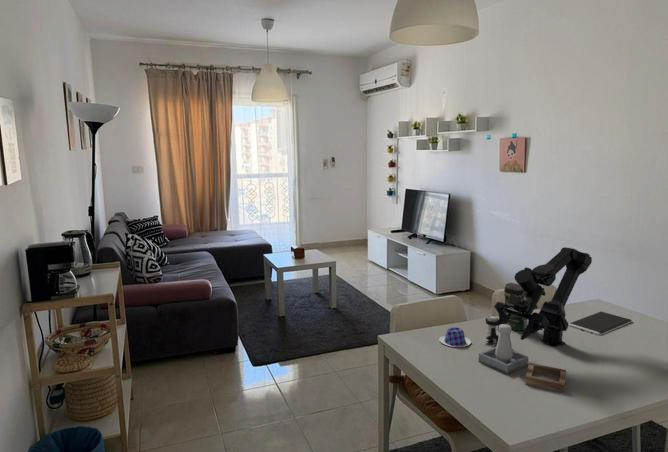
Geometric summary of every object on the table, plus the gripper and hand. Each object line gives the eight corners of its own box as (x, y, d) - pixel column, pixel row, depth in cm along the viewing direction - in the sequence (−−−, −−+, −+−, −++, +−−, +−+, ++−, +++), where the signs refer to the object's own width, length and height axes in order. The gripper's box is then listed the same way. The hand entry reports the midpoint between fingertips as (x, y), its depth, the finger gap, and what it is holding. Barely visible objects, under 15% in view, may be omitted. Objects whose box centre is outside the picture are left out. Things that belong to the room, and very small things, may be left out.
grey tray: (499, 353, 168) (499, 345, 167) (527, 365, 158) (528, 356, 158) (478, 361, 161) (478, 353, 161) (507, 374, 152) (507, 365, 151)
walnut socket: (529, 369, 155) (529, 362, 154) (565, 377, 150) (566, 369, 149) (525, 384, 145) (525, 376, 145) (564, 392, 140) (564, 384, 140)
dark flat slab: (566, 327, 194) (567, 323, 194) (600, 314, 208) (600, 310, 208) (599, 337, 183) (599, 333, 183) (632, 323, 197) (632, 319, 197)
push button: (490, 346, 173) (491, 321, 172) (479, 342, 178) (480, 317, 176) (501, 342, 177) (503, 318, 175) (490, 338, 181) (491, 314, 180)
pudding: (457, 334, 186) (457, 322, 186) (477, 345, 176) (478, 332, 175) (432, 339, 181) (433, 327, 181) (452, 351, 171) (453, 337, 170)
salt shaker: (495, 356, 164) (496, 321, 162) (512, 358, 161) (514, 323, 159) (494, 363, 158) (496, 327, 156) (512, 365, 156) (514, 329, 154)
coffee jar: (498, 326, 194) (500, 283, 191) (508, 321, 199) (511, 280, 196) (520, 332, 187) (523, 288, 184) (530, 328, 192) (532, 285, 189)
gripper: (498, 280, 168) (477, 315, 164) (546, 292, 153) (524, 331, 148) (510, 296, 174) (490, 331, 169) (557, 310, 158) (537, 348, 154)
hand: (509, 335), depth 160 cm, fingers open, 9 cm apart
